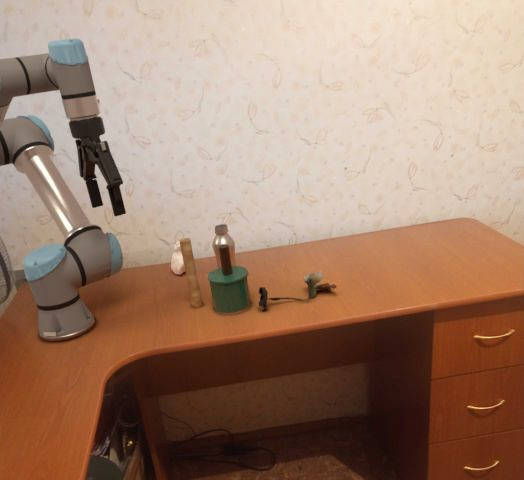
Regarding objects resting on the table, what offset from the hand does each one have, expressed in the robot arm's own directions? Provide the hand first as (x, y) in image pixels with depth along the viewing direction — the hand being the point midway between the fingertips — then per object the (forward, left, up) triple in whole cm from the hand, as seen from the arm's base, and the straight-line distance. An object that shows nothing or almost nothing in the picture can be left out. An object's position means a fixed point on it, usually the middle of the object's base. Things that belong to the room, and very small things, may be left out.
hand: (108, 210), depth 131 cm
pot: (+14, +23, -33) cm, 42 cm away
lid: (+14, +23, -23) cm, 36 cm away
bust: (-22, +34, -33) cm, 52 cm away
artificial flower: (+28, +36, -33) cm, 56 cm away
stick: (+4, +18, -33) cm, 38 cm away
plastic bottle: (+5, +31, -33) cm, 45 cm away
